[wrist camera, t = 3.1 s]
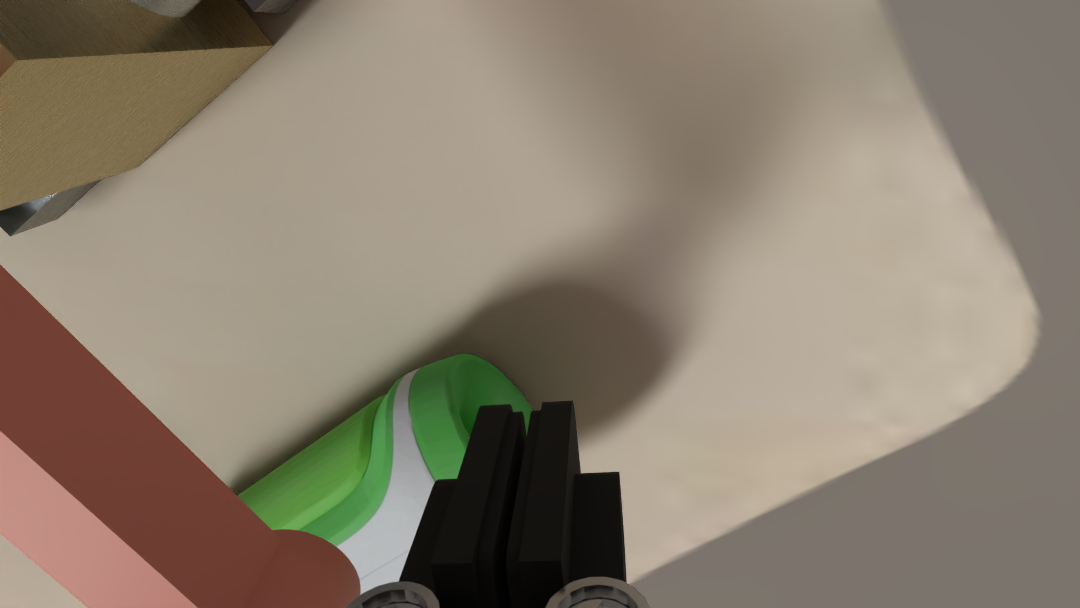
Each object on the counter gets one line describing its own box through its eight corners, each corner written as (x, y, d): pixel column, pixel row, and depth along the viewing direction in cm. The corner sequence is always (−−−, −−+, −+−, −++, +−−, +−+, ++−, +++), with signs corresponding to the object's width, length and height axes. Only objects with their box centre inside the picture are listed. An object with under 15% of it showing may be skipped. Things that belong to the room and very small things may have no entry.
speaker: (277, 622, 33) (193, 782, 26) (163, 520, 31) (39, 664, 24) (573, 443, 28) (569, 581, 21) (460, 309, 26) (413, 412, 19)
